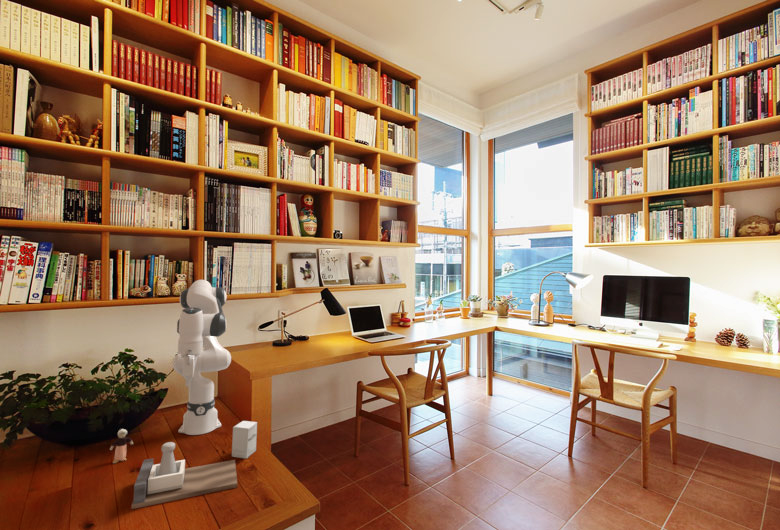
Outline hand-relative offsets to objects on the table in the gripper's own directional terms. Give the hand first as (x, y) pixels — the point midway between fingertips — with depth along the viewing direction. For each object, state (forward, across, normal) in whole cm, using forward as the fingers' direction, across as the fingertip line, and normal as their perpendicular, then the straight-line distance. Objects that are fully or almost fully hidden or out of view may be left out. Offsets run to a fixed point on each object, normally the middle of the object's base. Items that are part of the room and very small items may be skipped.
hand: (189, 382), depth 148 cm
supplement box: (+33, +1, -22) cm, 40 cm away
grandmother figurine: (+33, +14, +24) cm, 43 cm away
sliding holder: (+31, -15, +5) cm, 35 cm away
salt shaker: (+30, -15, +5) cm, 34 cm away
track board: (+33, -15, -2) cm, 36 cm away
